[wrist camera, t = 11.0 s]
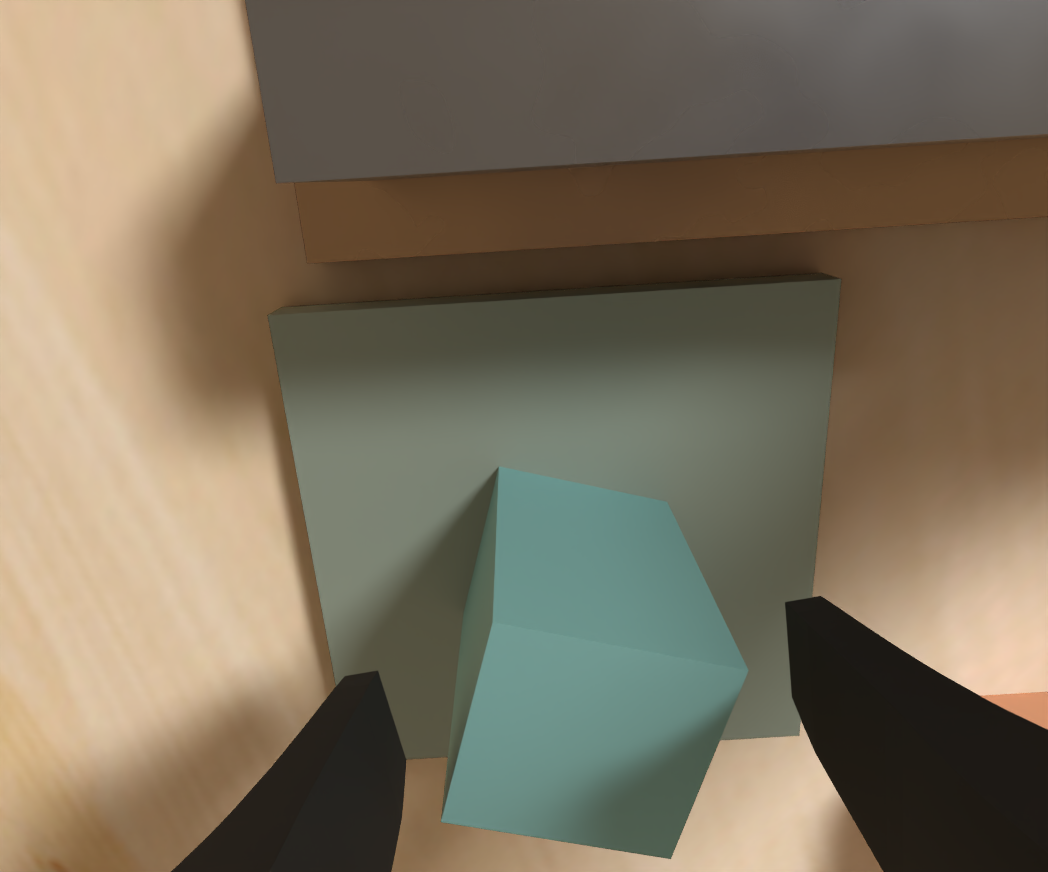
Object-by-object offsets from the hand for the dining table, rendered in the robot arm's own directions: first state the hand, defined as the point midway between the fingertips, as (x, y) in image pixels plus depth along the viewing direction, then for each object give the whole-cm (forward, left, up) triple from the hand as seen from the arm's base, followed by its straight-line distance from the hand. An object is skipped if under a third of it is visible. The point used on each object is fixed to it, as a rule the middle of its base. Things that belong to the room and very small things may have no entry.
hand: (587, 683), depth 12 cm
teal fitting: (0, 0, -5) cm, 5 cm away
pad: (0, 0, -6) cm, 6 cm away
